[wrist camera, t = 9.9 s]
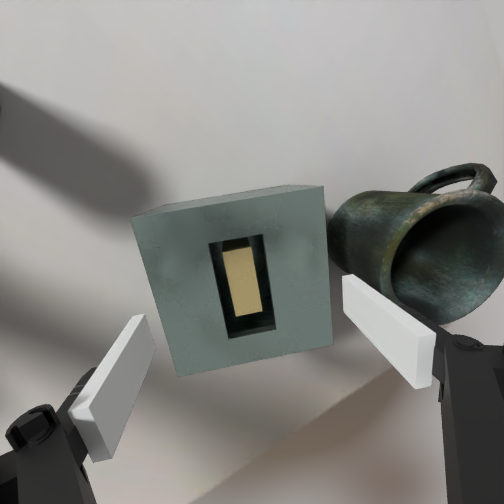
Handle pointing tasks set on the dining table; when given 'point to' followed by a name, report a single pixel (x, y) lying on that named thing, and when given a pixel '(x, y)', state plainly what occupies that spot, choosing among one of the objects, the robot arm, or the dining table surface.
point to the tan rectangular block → (241, 276)
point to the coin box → (216, 282)
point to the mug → (425, 242)
